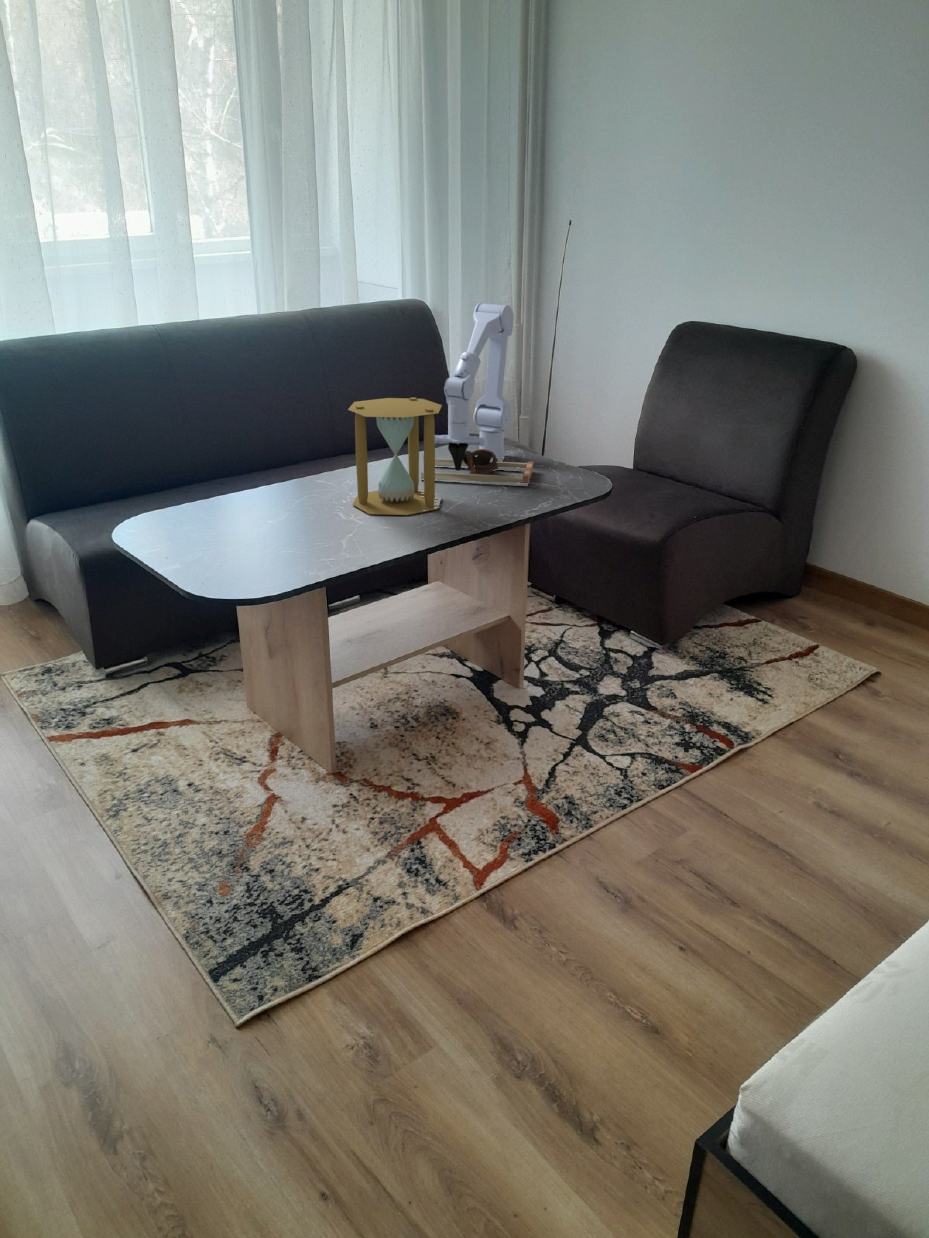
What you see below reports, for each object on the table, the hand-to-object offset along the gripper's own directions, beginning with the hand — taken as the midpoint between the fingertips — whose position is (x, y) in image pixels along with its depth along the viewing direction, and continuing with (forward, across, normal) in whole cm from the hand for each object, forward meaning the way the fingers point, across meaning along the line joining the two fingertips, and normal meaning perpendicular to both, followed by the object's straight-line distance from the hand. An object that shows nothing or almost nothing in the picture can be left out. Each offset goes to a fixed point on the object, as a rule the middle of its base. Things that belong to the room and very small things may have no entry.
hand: (458, 469), depth 262 cm
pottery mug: (+2, +6, +2) cm, 6 cm away
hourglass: (+2, -11, -28) cm, 30 cm away
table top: (+2, +5, 0) cm, 5 cm away
